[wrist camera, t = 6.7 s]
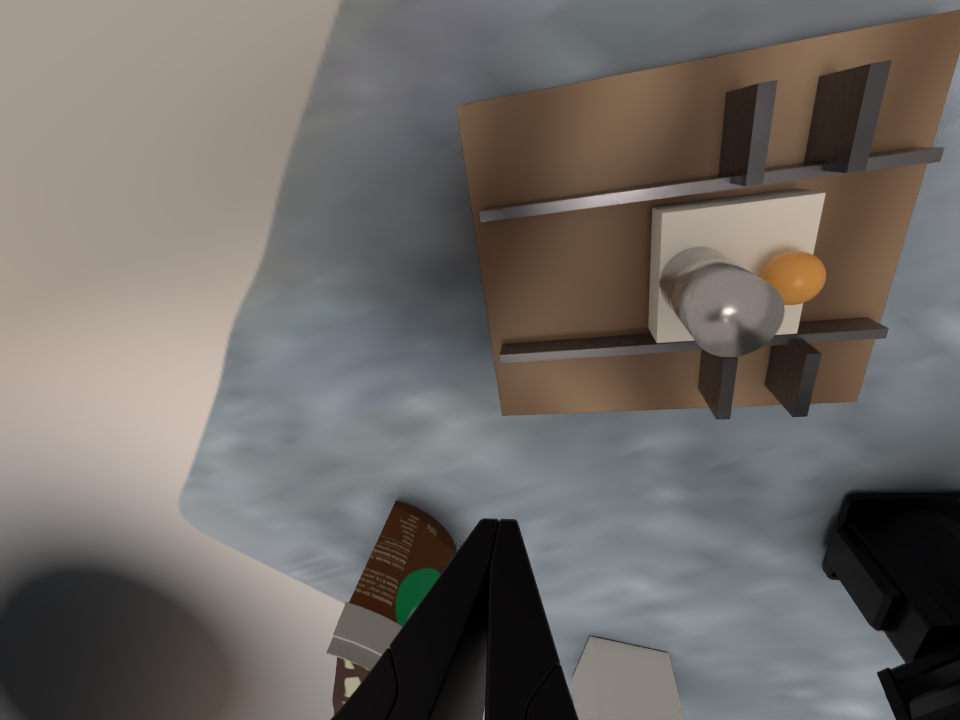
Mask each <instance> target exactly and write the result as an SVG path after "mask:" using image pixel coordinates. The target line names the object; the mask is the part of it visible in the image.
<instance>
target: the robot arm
mask: <svg viewBox="0 0 960 720" xmlns="http://www.w3.org/2000/svg"><path fill="white" fill-rule="evenodd" d="M823 571H824V572H825V574H826V575H827V577H828V578H830V579H833V580H840V581H841V583H842V584H843V586H844V587H845V589H846V590H847V592H848V593H849V595H850V596H851V598H852V599H853V601H854V602H855V604H856V605H857V607H858V608H859V610H860V611H861V613H862V614H863V616H864V617H865V619H866V620H867V622H868V623H869V625H870V626H871V627H873V628H874V629H875V630H877V631H884V632H885V634H886V635H887V637H888V638H889V640H890V641H891V643H892V644H893V646H894V647H895V648H896V650H897V651H898V653H899V654H900V656H901V657H902V659H903V660H904V662H905V663H904V664H902V665H900V666H897V667H895V668H893V669H890V668H886V669H884V670H881V671H879V672H877V674H878V677H879V679H880V682H881V684H882V686H883V689H884V691H885V695H886V697H887V700H888V702H889V704H890V707H891V709H892V711H893V714H894V716H895V718H896V720H960V493H854V494H851V495H849V496H848V497H846V499H845V501H844V504H843V507H842V510H841V513H840V516H839V520H838V523H837V526H836V529H835V531H834V534H833V537H832V540H831V543H830V546H829V550H828V553H827V556H826V560H825V563H824V566H823ZM484 707H485V720H579V719H578V716H577V713H576V710H575V707H574V704H573V701H572V698H571V695H570V692H569V689H568V686H567V683H566V680H565V676H564V673H563V670H562V666H561V665H560V660H559V657H558V654H557V650H556V647H555V644H554V640H553V637H552V634H551V631H550V627H549V624H548V621H547V617H546V614H545V611H544V607H543V604H542V601H541V597H540V594H539V591H538V588H537V584H536V581H535V578H534V574H533V571H532V568H531V564H530V561H529V558H528V554H527V551H526V548H525V545H524V541H523V538H522V535H521V531H520V528H519V525H518V522H517V520H515V519H501V520H500V521H499V520H498V519H486V518H484V519H481V520H480V521H479V523H478V524H477V525H476V527H475V528H474V529H473V531H472V532H471V534H470V535H469V536H468V538H467V539H466V540H465V542H464V543H463V545H462V546H461V547H460V549H459V550H458V551H457V553H456V554H455V556H454V557H453V558H452V560H451V561H450V562H449V564H448V565H447V567H446V568H445V569H444V571H443V572H442V573H441V575H440V576H439V578H438V579H437V580H436V582H435V583H434V584H433V586H432V587H431V589H430V590H429V591H428V593H427V594H426V595H425V597H424V598H423V600H422V601H421V602H420V604H419V605H418V606H417V608H416V609H415V611H414V612H413V613H412V615H411V616H410V617H409V619H408V620H407V622H406V623H405V624H404V626H403V627H402V628H401V630H400V631H399V633H398V634H397V635H396V637H395V638H394V639H393V641H392V642H391V644H390V649H389V648H387V649H386V650H385V652H384V653H383V654H382V656H381V657H380V659H379V660H378V661H377V663H376V664H375V665H374V667H373V668H372V669H371V671H370V672H369V673H368V675H367V676H366V677H365V678H364V680H363V681H362V682H361V684H360V685H359V686H358V688H357V689H356V690H355V691H354V693H353V694H352V695H351V696H350V697H349V698H348V700H347V701H346V702H345V703H344V704H343V706H342V707H341V708H340V709H339V710H338V712H337V713H336V714H335V715H334V716H333V717H332V719H331V720H482V719H483V713H484Z"/></svg>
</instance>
